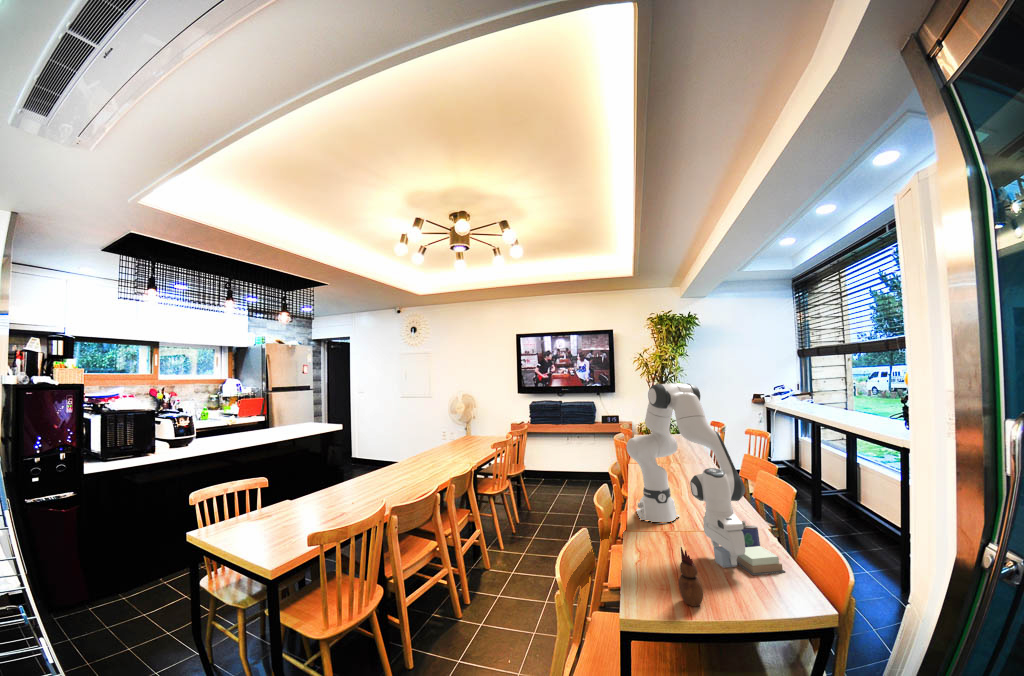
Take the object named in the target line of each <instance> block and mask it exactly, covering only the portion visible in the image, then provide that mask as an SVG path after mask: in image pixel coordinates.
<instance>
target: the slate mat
mask: <svg viewBox="0 0 1024 676" xmlns="http://www.w3.org/2000/svg"><path fill="white" fill-rule="evenodd" d="M737 566H739V567H741V568H742V569H743V570H745V571H746V572H748V573H749V574H750V575H752V576H759V575H760V576H761V575H770V574H771V575H772V574H781V573H786V570H785V569H783V571H772V572H761V573H752V572H751V571H750V570H748V569H747V568H745V567H744V566H742V565H741V564H740V563H738V562H737Z"/></svg>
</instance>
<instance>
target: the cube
mask: <svg viewBox="0 0 1024 676" xmlns="http://www.w3.org/2000/svg"><path fill="white" fill-rule="evenodd" d="M713 554H714V562H715V563H716V564H718V565H719V566H721V567H722V568H724V569H725V568H735V567H738V564H737V565H732V564H731V563H730V562H729V558H730V557H731V555H730V552H729V551H728V550H726V549H725V548H723V547H722V546H721V545H719V547H714V546H713Z"/></svg>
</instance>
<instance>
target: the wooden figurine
mask: <svg viewBox="0 0 1024 676" xmlns="http://www.w3.org/2000/svg"><path fill="white" fill-rule="evenodd" d="M680 557H681V559H680V560H681V562H680V564H679V570H680V571H679V572H680V573H681V574H680V575H679V577H678V589H679V592H680V596H681V598H682V600H683V602H684V603H685V604H687V605H688V606H690V607H699V606H700V605H701V604H702V603H703V599H704V588H703V585H702V582H701V581H700V579H699V578H698V569H697V565H696V564H695V562H694V561H693V558H691V556H690V554H688V552H687V550H686V549H685V550H683V548H682V546H680Z"/></svg>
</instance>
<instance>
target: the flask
mask: <svg viewBox="0 0 1024 676" xmlns="http://www.w3.org/2000/svg"><path fill="white" fill-rule="evenodd" d="M740 521H741V520H740ZM741 522H742V523H743V529H742V530H741V531H742V532H743V535H744V540H745V547H756V546H761V542H760V534H759V528H758V526H757V525H747V523H746V521H745V520H742V521H741Z"/></svg>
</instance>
